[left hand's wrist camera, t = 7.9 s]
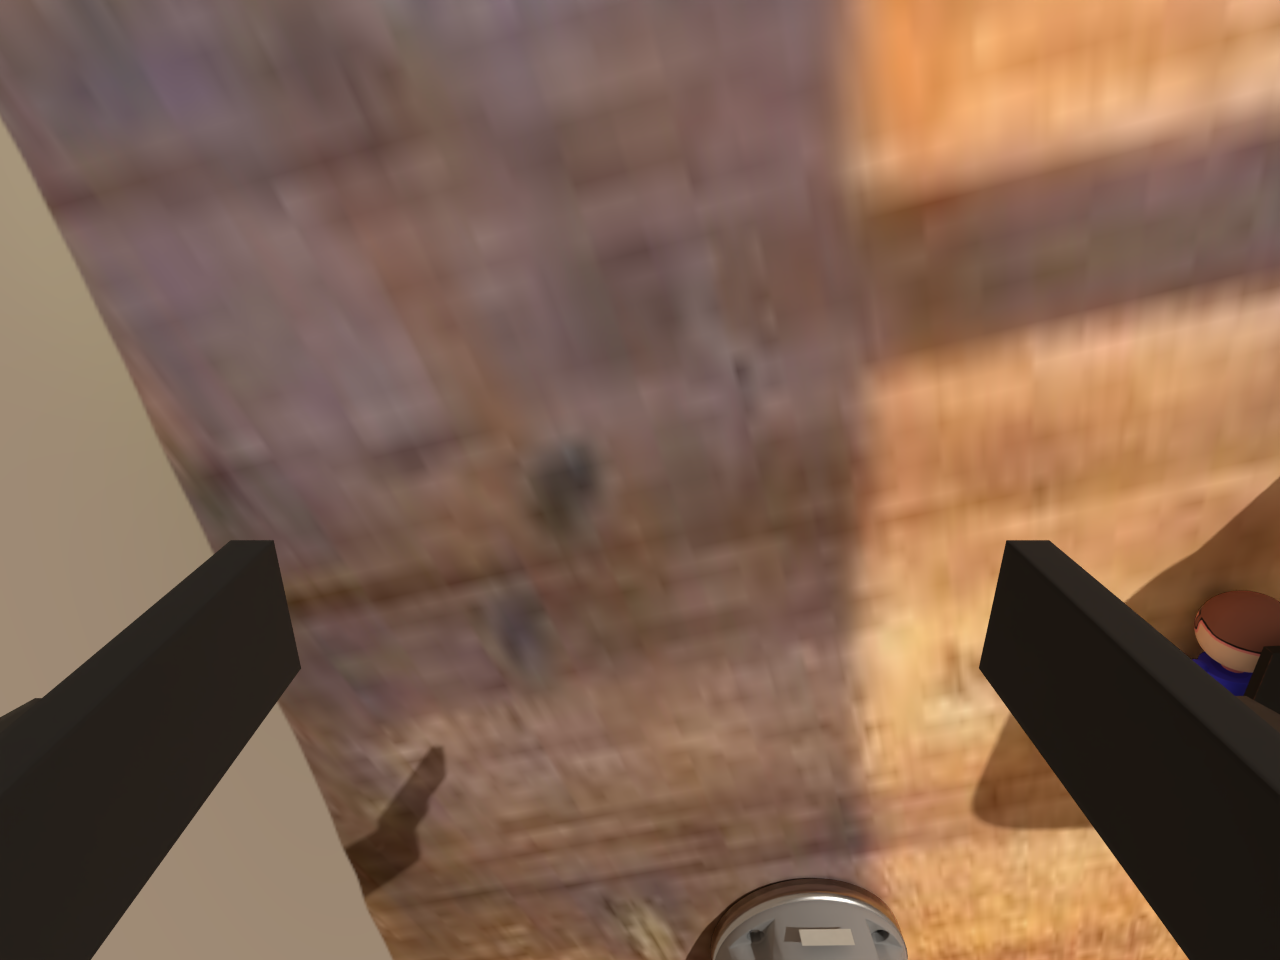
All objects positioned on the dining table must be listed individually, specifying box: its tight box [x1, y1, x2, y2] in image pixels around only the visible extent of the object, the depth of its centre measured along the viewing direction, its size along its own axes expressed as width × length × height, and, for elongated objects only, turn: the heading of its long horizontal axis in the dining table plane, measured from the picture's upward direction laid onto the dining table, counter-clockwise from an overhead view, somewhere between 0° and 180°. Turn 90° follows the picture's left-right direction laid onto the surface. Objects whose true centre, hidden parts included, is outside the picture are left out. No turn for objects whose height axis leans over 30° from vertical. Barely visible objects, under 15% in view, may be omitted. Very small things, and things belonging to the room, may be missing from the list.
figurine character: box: [1192, 591, 1280, 714], centre depth 44 cm, size 7×8×15 cm
